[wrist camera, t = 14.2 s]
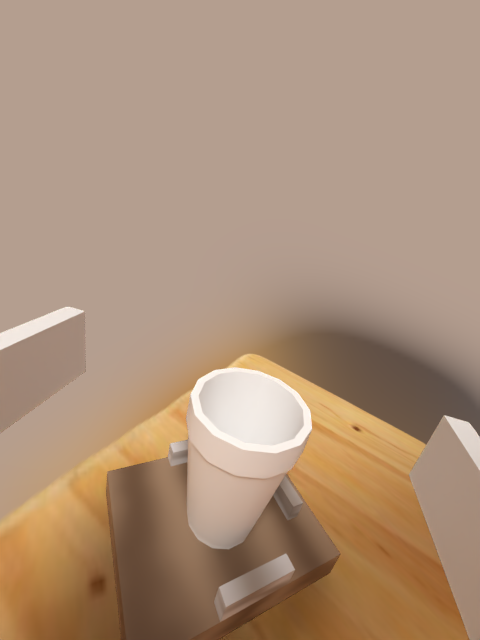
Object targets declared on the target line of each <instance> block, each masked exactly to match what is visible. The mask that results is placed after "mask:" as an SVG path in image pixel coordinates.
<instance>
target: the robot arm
mask: <svg viewBox="0 0 480 640" xmlns="http://www.w3.org/2000/svg"><path fill="white" fill-rule="evenodd" d="M85 362H86V361H85V311H82V310H78V309H75V308H72V307H68V306H67V307H64V308H62V309H59V310H57V311H54V312H52V313H49V314H47V315H45V316H42V317H39V318H37V319H34V320H32V321H29V322H27V323H24V324H22V325H19V326H17V327H14V328H12V329H10V330H7V331H5V332H2V333H0V433H1V432H3V431H4V430H5V429H7V428H8V427H10V426H11V425H12V424H14V423H15V422H17V421H18V420H19V419H21V418H22V417H23V416H25V415H26V414H28V413H29V412H30V411H32V410H33V409H34V408H35V407H37V406H39V405H40V404H41V403H43V402H44V401H46V400H47V399H48V398H50V397H51V396H52V395H54V394H55V393H57V392H58V391H59V390H60V389H62V388H63V387H65V386H66V385H68V384H69V383H70V382H72V381H73V380H74V379H76V378H77V377H79V376H80V375H81V374H83V373H84V372H85V371H86V369H85V368H86V363H85ZM409 477H410V479H411V482H412V485H413V487H414V490H415V493H416V496H417V498H418V501H419V504H420V506H421V509H422V512H423V515H424V517H425V520H426V523H427V525H428V528H429V531H430V534H431V536H432V539H433V542H434V544H435V547H436V550H437V553H438V555H439V558H440V561H441V563H442V566H443V569H444V572H445V574H446V577H447V580H448V582H449V585H450V588H451V591H452V593H453V596H454V599H455V601H456V604H457V607H458V610H459V612H460V615H461V618H462V620H463V623H464V626H465V629H466V631H467V634H468V637H469V639H470V640H480V437H479V435H478V434H477V433H476V431H475V430H474V429H473V427H472V426H471V425H470V423H469V422H465V421H462V420H458V419H455V418H452V417H448V416H443V418H442V420H441V421H440V423H439V425H438V426H437V428H436V430H435V432H434V433H433V435H432V437H431V439H430V440H429V442H428V443H427V445H426V447H425V448H424V450H423V452H422V453H421V455H420V457H419V458H418V460H417V462H416V463H415V465H414V467H413V468H412V470H411V472H410V474H409Z"/></svg>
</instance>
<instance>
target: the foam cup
mask: <svg viewBox="0 0 480 640" xmlns="http://www.w3.org/2000/svg"><path fill="white" fill-rule="evenodd" d="M186 421H187V427H188V468H187V516H188V523H189V526H190V528H191V530H192V531H193V533H194V534H195V536H196V537H197V539H198V540H200V541H201V542H203V543H205V544H206V545H208V546H209V547H211V548H216V549H230V548H232V547H234V546H236V545H238V544H240V543H243V542H244V540H245V539H246V537H247V536H248V534H249V533H250V531H251V530H252V528H253V527H254V525H255V523H256V522H257V520H258V519H259V517H260V515H261V514H262V512H263V511H264V509H265V507H266V506H267V504H268V502H269V501H270V499H271V498H272V496H273V494H274V493H275V491H276V489H277V488H278V486H279V485H280V483H281V481H282V480H283V478H284V476H285V475H286V473H287V472H288V471H289V470H291V469H292V467H293V466H294V464H295V463H296V461H297V460H298V458H299V457H300V455H301V454H302V453H303V450H304V448H305V445H306V443H307V440H308V438H309V435H310V433H311V430H312V424H311V414H310V409H309V408H308V407H307V405H306V404H305V402H304V401H303V399H302V398H301V397H300V395H299V394H298V393H297V392H296V391H295V390H293V389H292V388H290V387H289V386H288V385H286V384H285V383H284V382H282V381H281V380H279V379H277V378H275V377H272V376H270V375H267V374H265V373H262V372H260V371H256V370H249V369H242V368H228V369H220V370H214V371H213V372H211V373H209V374H207V375H205V376H203V377H202V378H200V379H198V381H197V384H196V385H195V387H194V389H193V391H192V393H191V395H190V400H189V405H188V411H187V416H186Z"/></svg>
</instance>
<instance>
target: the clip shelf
mask: <svg viewBox="0 0 480 640" xmlns="http://www.w3.org/2000/svg"><path fill="white" fill-rule="evenodd" d="M187 468H188V440H185V441H180V442H175V443H171V444H170V448H169V454H168V457H167V458H163V459H159V460H154V461H150V462H146V463H142V464H137V465H133V466H129V467H125V468H121V469H116V470H112V471H108V472H107V487H106V495H107V505H108V514H109V524H110V534H111V544H112V553H113V563H114V573H115V583H116V592H117V602H118V612H119V622H120V632H121V640H218V639H220V638H221V637H223V636H225V635H226V634H228V633H230V632H231V631H233V630H235V629H236V628H238V627H240V626H242V625H243V624H245V623H247V622H248V621H250V620H252V619H253V618H255V617H257V616H258V615H260V614H262V613H263V612H265V611H267V610H268V609H270V608H272V607H273V606H275V605H277V604H278V603H280V602H282V601H283V600H285V599H287V598H288V597H290V596H292V595H294V594H295V593H297V592H299V591H300V590H302V589H304V588H305V587H307V586H309V585H310V584H312V583H314V582H315V581H317V580H319V579H320V578H322V577H324V576H325V575H327V574H329V573H330V571H331V570H332V568H333V566H334V564H335V563H336V561H337V559H338V558H339V556H340V553H339V551H338V550H337V548H336V547H335V545H334V544H333V542H332V541H331V539H330V538H329V536H328V535H327V533H326V532H325V530H324V529H323V527H322V526H321V524H320V523H319V521H318V520H317V518H316V517H315V515H314V514H313V512H312V511H311V509H310V508H309V506H308V505H307V503H306V502H305V501H304V499H303V498H302V496H301V495H300V493H299V492H298V490H297V489H296V487H295V486H294V484H293V483H292V481H291V480H290V478H289V477H288V475H287V474H286V475H285V476H284V478H283V480H282V481H281V483H280V485H279V486H278V488H277V489H276V491H275V493H274V494H273V496H272V498H271V499H270V501H269V502H268V504H267V506H266V507H265V509H264V511H263V512H262V514H261V515H260V517H259V519H258V520H257V522H256V523H255V525H254V527H253V528H252V530H251V531H250V533H249V534H248V536H247V537H246V539H245V540H244V542H243V543H240V544H238V545H236V546H234V547H232V548H230V549H216V548H211V547H209V546H208V545H206V544H205V543H203V542H201V541H200V540H198V539H197V537H196V536H195V534H194V533H193V531H192V530H191V528H190V526H189V523H188V516H187Z"/></svg>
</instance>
